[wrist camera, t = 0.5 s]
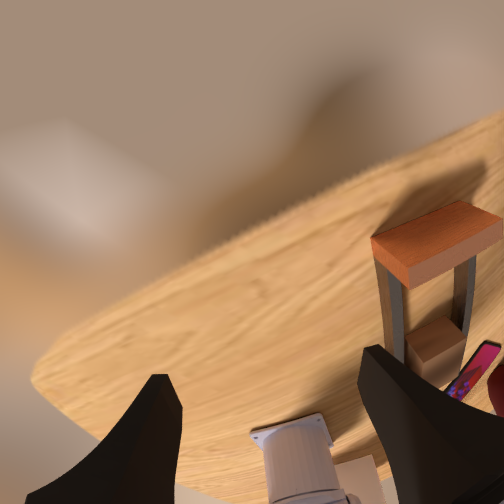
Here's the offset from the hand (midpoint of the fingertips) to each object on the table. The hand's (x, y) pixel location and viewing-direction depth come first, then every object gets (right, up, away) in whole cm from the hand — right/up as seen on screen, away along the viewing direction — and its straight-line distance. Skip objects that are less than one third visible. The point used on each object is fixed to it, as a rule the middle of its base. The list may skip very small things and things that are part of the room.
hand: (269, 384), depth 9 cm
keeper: (+17, -5, +14) cm, 22 cm away
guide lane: (+15, -1, +12) cm, 19 cm away
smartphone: (+29, -14, +19) cm, 37 cm away
